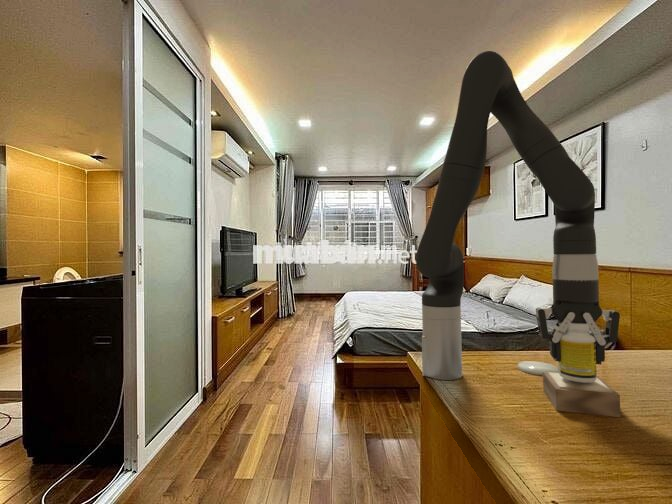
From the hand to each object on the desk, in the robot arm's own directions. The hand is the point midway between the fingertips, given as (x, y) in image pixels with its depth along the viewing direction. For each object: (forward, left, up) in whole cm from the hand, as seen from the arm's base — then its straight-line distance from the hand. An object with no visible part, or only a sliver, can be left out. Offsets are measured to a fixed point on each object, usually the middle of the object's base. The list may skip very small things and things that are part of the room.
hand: (576, 361), depth 69 cm
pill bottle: (0, 0, -3) cm, 3 cm away
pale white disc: (-3, +20, -8) cm, 22 cm away
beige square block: (0, 0, -8) cm, 8 cm away
